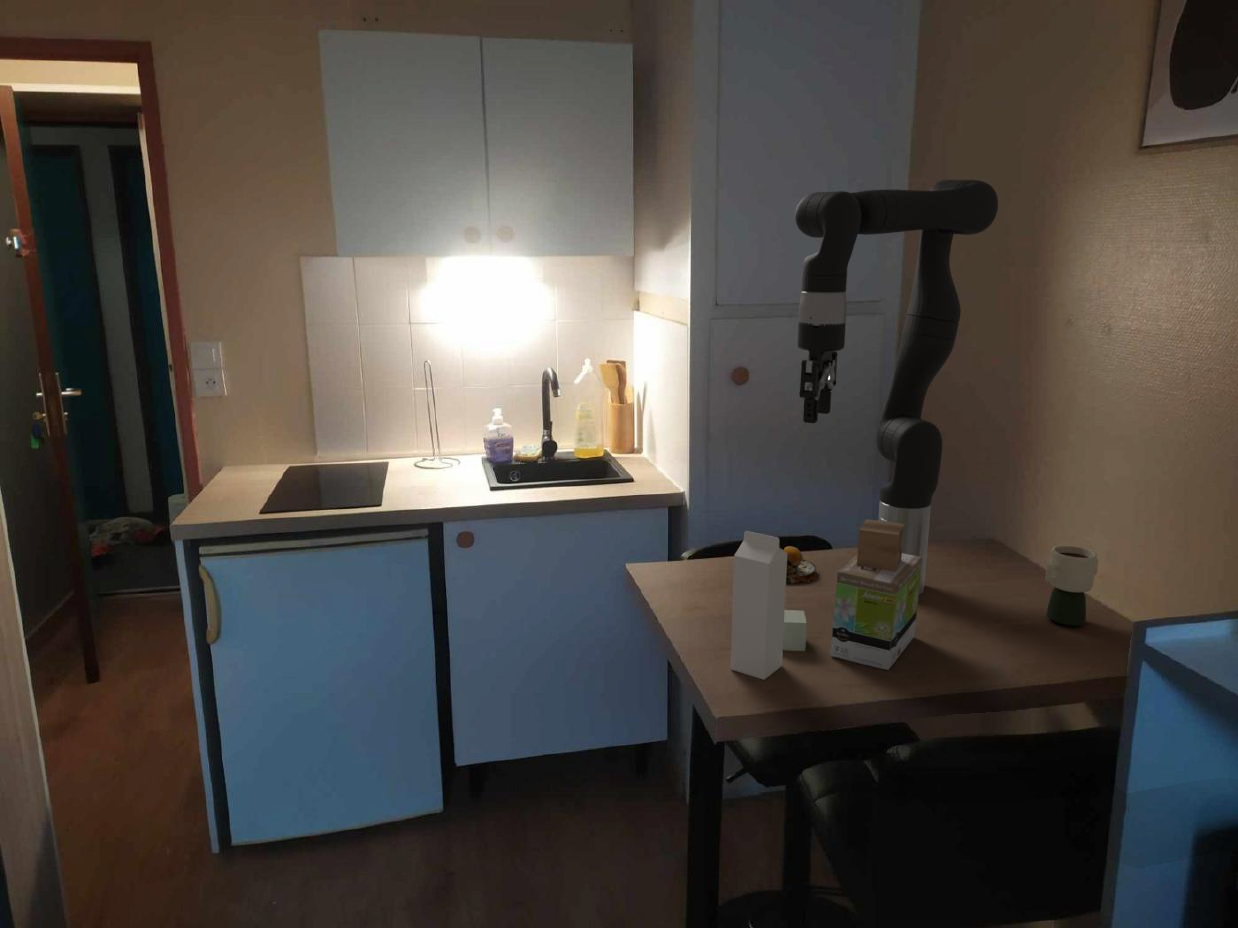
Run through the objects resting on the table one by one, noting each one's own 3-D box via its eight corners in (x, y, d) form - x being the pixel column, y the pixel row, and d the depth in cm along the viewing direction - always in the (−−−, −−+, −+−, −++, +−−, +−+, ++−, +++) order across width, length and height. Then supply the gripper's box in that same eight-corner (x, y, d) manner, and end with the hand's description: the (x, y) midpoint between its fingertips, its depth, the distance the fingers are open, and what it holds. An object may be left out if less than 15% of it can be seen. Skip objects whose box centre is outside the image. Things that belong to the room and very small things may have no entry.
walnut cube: (863, 553, 154) (866, 519, 153) (901, 559, 152) (904, 524, 150) (856, 565, 149) (859, 529, 147) (895, 571, 146) (898, 534, 145)
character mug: (1073, 609, 169) (1082, 541, 165) (1105, 625, 162) (1115, 554, 159) (1025, 617, 165) (1033, 548, 162) (1055, 634, 159) (1065, 561, 155)
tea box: (891, 672, 145) (898, 583, 141) (828, 657, 150) (833, 570, 146) (916, 637, 158) (923, 554, 154) (857, 624, 163) (863, 543, 159)
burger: (785, 560, 194) (787, 526, 193) (828, 577, 185) (830, 541, 183) (743, 572, 188) (744, 536, 186) (785, 590, 178) (787, 553, 177)
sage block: (772, 637, 158) (773, 609, 156) (802, 638, 157) (803, 610, 156) (774, 650, 153) (775, 621, 152) (805, 651, 152) (806, 622, 151)
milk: (748, 656, 150) (753, 525, 145) (782, 666, 147) (789, 532, 142) (729, 670, 146) (734, 535, 140) (764, 680, 142) (770, 542, 137)
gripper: (810, 315, 159) (806, 408, 163) (787, 322, 147) (782, 423, 151) (855, 317, 156) (849, 412, 160) (834, 324, 144) (828, 428, 148)
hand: (816, 417), depth 156 cm, fingers open, 8 cm apart
